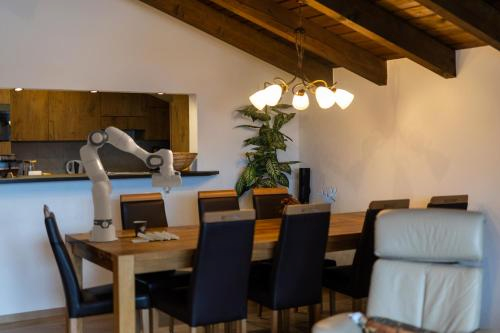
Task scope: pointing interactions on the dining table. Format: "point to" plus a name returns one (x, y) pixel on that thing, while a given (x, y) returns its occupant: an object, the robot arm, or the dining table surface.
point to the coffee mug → (140, 227)
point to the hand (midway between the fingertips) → (167, 193)
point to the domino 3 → (155, 236)
